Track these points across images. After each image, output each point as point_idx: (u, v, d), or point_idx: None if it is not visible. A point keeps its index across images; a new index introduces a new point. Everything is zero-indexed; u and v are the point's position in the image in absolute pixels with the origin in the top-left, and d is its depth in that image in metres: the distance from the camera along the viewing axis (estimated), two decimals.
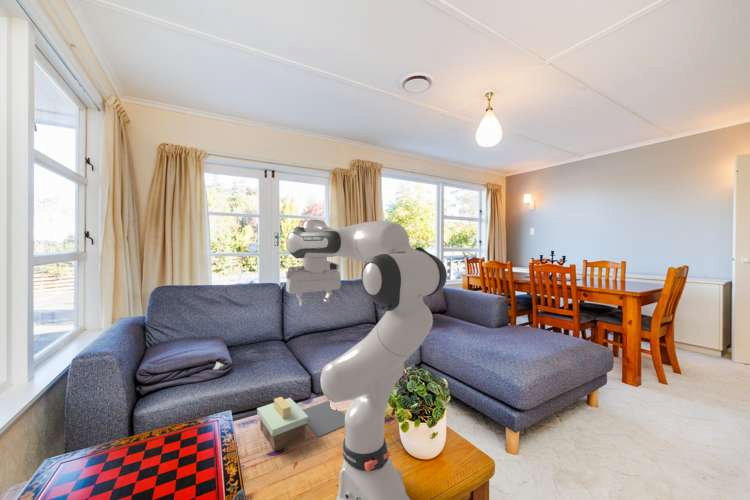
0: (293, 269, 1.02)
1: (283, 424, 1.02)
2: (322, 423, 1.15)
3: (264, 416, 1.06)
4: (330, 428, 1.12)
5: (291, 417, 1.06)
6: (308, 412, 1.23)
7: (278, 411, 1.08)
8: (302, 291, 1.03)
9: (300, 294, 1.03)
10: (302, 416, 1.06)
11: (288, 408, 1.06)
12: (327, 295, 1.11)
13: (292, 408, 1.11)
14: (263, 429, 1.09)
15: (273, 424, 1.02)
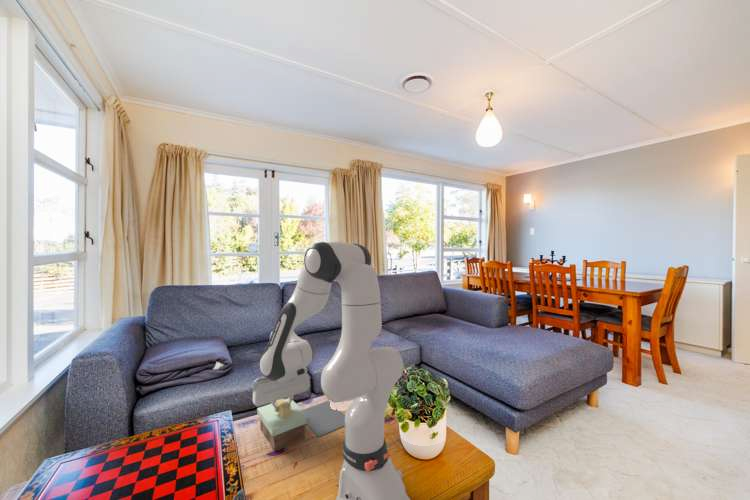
0: (259, 381, 1.04)
1: (283, 424, 1.02)
2: (322, 423, 1.15)
3: (264, 416, 1.06)
4: (330, 428, 1.12)
5: (291, 417, 1.06)
6: (308, 412, 1.23)
7: (278, 411, 1.08)
8: (268, 401, 1.04)
9: (274, 402, 1.06)
10: (302, 416, 1.06)
11: (288, 408, 1.06)
12: (289, 400, 1.10)
13: (292, 408, 1.11)
14: (263, 429, 1.09)
15: (273, 424, 1.02)
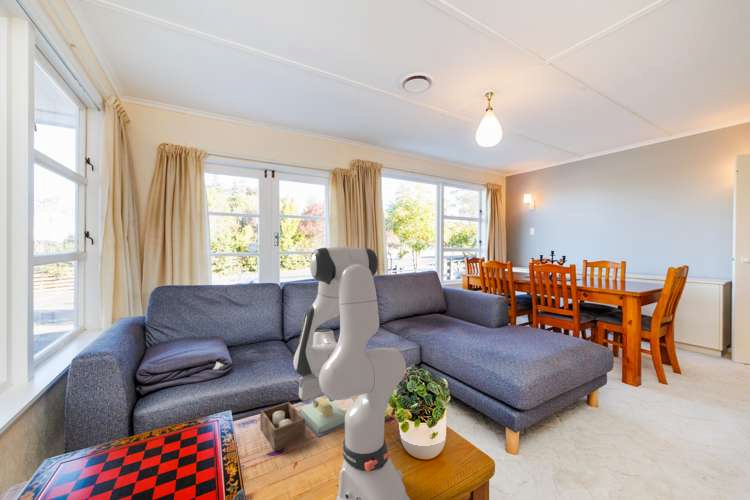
0: (305, 377, 1.14)
1: (327, 422, 1.12)
2: None
3: (308, 415, 1.17)
4: (330, 428, 1.12)
5: (333, 416, 1.16)
6: None
7: (320, 410, 1.19)
8: (313, 396, 1.15)
9: (314, 398, 1.16)
10: (343, 415, 1.17)
11: (330, 407, 1.16)
12: None
13: (332, 407, 1.22)
14: (263, 429, 1.09)
15: (318, 422, 1.12)
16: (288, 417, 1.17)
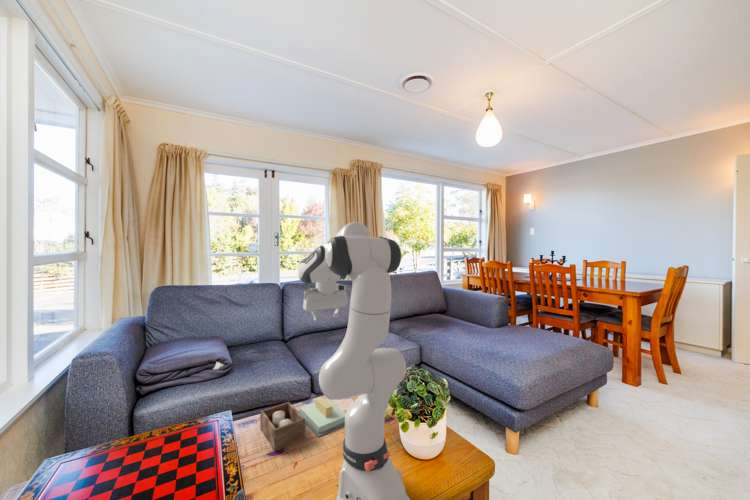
0: (309, 291, 1.24)
1: (327, 422, 1.12)
2: None
3: (308, 415, 1.17)
4: (330, 428, 1.12)
5: (333, 416, 1.16)
6: None
7: (320, 410, 1.19)
8: (316, 309, 1.25)
9: (314, 311, 1.25)
10: (343, 415, 1.17)
11: (330, 407, 1.16)
12: (336, 311, 1.33)
13: (332, 407, 1.22)
14: (263, 429, 1.09)
15: (318, 422, 1.12)
16: (288, 417, 1.17)
